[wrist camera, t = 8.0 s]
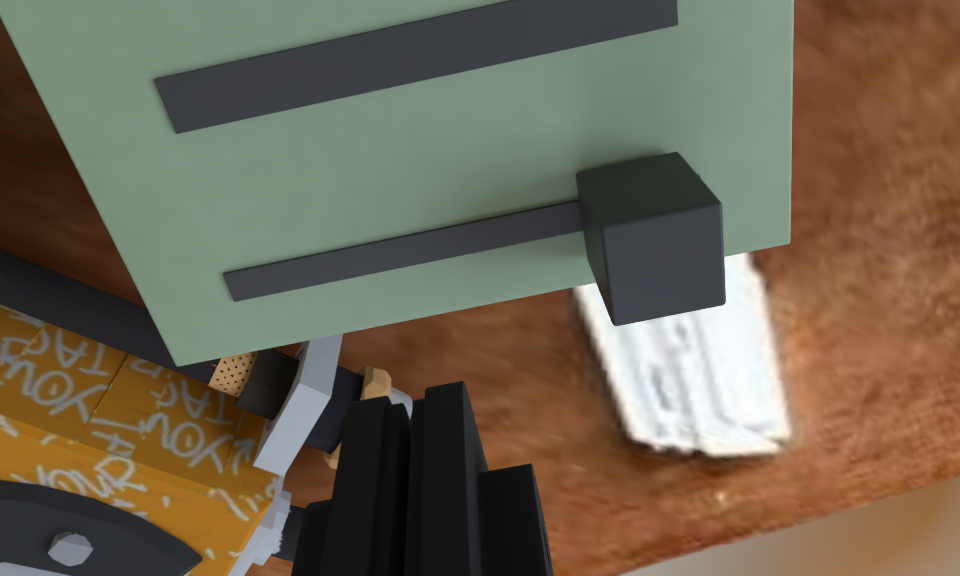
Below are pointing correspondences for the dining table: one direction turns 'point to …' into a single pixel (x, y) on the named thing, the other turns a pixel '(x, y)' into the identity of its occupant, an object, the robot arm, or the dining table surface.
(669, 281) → the slider
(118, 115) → the toaster
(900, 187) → the dining table surface
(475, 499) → the robot arm
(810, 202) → the dining table surface
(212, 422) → the device
